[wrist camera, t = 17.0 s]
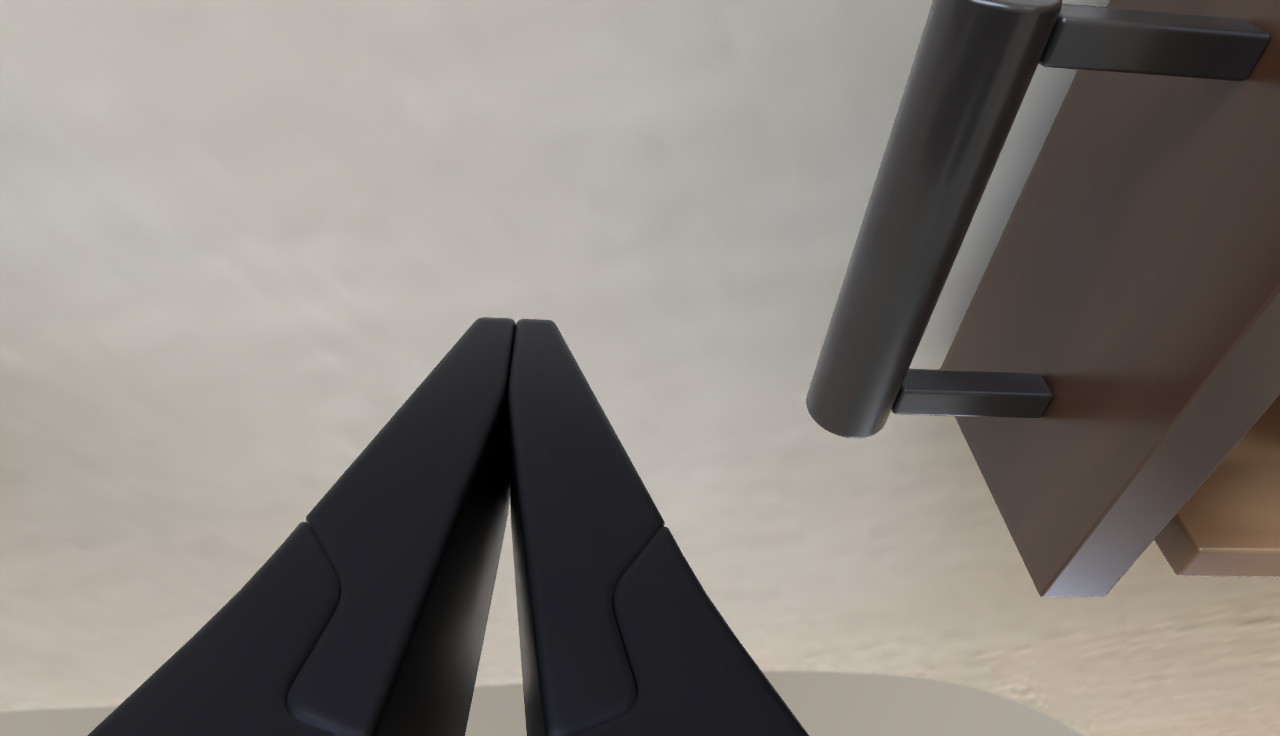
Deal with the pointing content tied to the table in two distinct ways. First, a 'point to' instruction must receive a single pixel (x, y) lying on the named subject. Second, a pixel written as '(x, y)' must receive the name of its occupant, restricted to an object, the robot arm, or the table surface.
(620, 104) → the table surface
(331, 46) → the table surface
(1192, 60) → the drawer
